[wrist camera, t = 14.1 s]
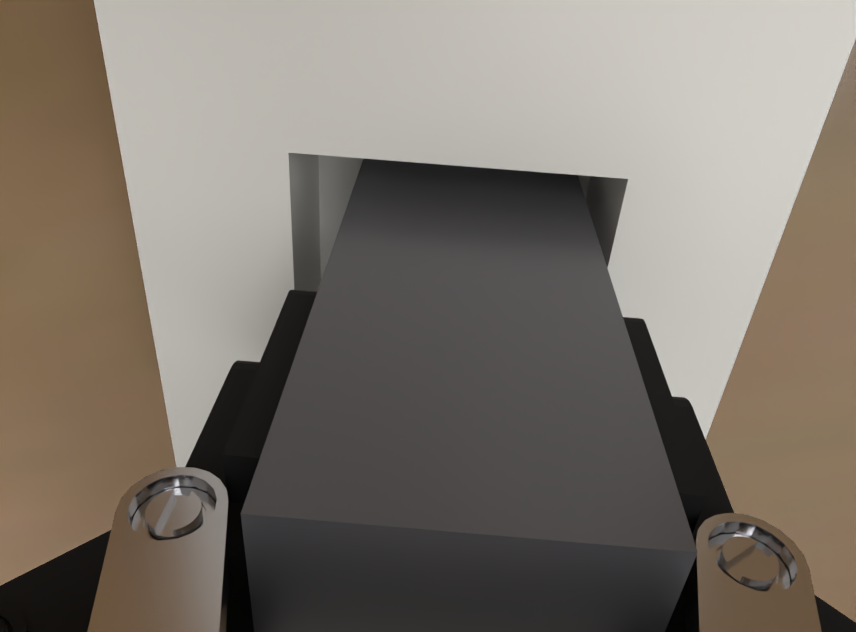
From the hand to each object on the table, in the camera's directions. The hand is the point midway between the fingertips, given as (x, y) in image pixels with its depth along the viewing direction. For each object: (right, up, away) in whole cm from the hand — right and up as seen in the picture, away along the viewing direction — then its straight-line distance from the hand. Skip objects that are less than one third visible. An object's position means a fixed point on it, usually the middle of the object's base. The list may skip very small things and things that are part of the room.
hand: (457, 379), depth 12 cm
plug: (0, +3, +4) cm, 5 cm away
